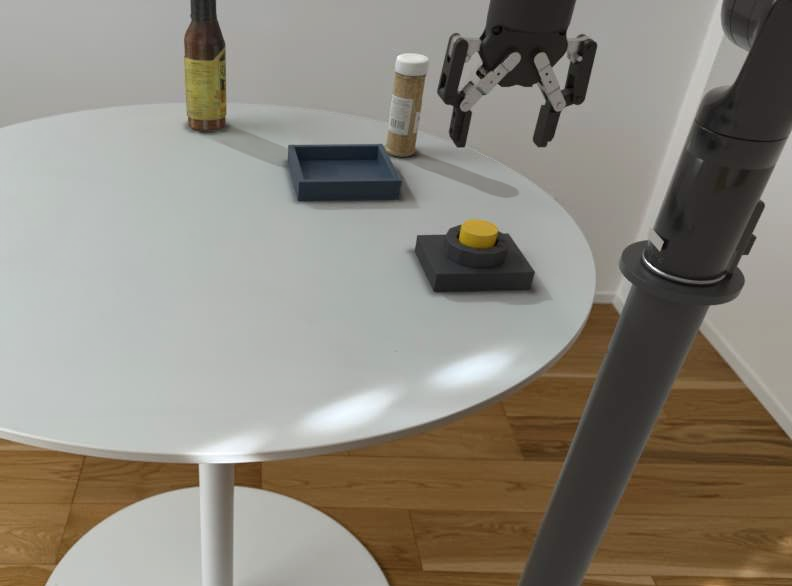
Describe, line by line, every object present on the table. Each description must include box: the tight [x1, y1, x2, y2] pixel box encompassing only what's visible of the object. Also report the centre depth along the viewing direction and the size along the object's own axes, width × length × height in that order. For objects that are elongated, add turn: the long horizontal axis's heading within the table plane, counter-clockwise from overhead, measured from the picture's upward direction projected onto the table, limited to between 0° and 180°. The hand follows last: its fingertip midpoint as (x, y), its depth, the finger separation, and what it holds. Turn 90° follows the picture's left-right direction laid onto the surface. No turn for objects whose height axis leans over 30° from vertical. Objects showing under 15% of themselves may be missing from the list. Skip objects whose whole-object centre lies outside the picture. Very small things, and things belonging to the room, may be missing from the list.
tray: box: [286, 143, 403, 202], centre depth 108 cm, size 14×13×3 cm
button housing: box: [414, 224, 536, 292], centre depth 89 cm, size 11×9×4 cm
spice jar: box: [384, 52, 430, 158], centre depth 112 cm, size 5×5×14 cm
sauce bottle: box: [183, 0, 227, 132], centre depth 117 cm, size 6×6×20 cm
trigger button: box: [459, 218, 499, 249], centre depth 87 cm, size 4×4×2 cm
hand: (499, 144), depth 81 cm, fingers open, 8 cm apart
